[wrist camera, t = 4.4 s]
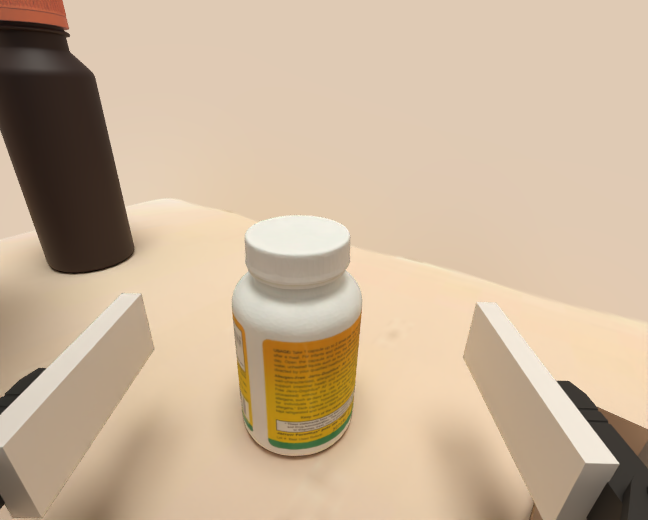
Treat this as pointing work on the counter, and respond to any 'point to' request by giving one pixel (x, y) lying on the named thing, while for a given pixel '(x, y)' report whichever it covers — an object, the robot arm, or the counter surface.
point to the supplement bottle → (297, 333)
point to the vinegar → (59, 140)
